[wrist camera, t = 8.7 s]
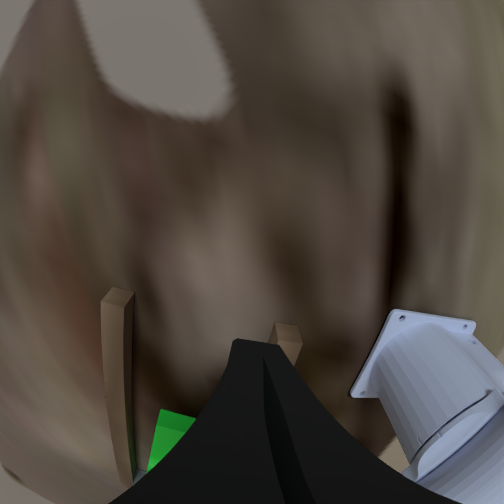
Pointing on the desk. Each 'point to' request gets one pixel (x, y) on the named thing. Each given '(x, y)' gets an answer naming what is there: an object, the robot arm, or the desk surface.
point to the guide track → (120, 373)
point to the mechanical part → (167, 434)
